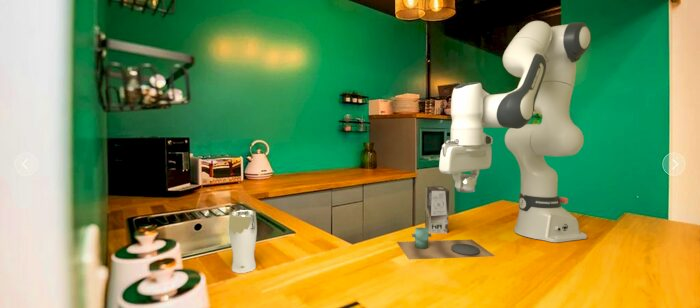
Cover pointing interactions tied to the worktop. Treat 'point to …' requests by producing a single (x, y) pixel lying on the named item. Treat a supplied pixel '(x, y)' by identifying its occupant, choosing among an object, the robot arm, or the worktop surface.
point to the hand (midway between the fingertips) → (465, 186)
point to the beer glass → (243, 240)
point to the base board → (435, 247)
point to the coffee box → (437, 209)
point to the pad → (465, 249)
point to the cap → (467, 183)
